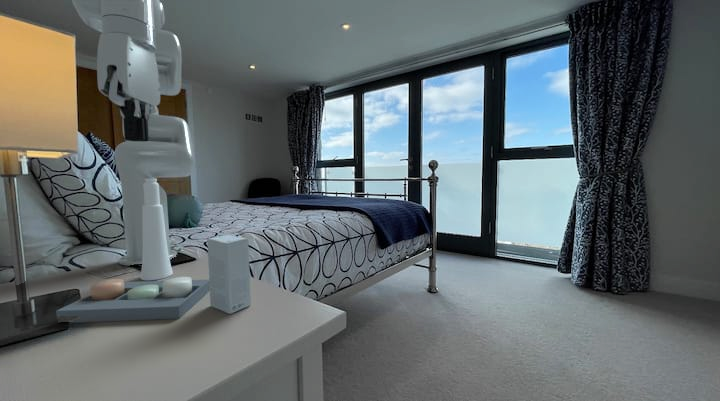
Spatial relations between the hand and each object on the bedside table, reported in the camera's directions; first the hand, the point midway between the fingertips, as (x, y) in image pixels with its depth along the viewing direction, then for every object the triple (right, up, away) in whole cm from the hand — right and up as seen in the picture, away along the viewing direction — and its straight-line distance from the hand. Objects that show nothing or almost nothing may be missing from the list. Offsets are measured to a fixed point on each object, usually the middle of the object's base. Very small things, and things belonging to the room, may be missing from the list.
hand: (137, 140), depth 54 cm
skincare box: (+19, -30, -3) cm, 35 cm away
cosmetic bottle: (-5, -28, +12) cm, 31 cm away
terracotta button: (-3, -28, -3) cm, 28 cm away
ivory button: (+9, -28, -2) cm, 29 cm away
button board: (+3, -29, -2) cm, 30 cm away
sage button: (+3, -29, -2) cm, 29 cm away
